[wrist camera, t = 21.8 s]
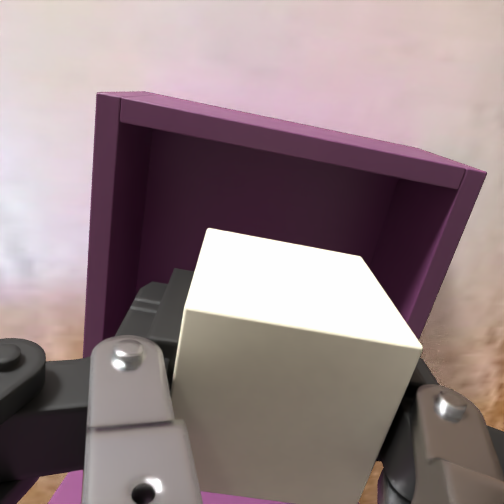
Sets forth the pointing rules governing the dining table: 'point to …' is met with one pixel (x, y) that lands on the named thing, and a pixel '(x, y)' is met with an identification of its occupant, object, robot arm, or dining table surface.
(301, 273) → the block
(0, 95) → the dining table surface
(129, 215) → the purple open box
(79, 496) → the purple box lid
